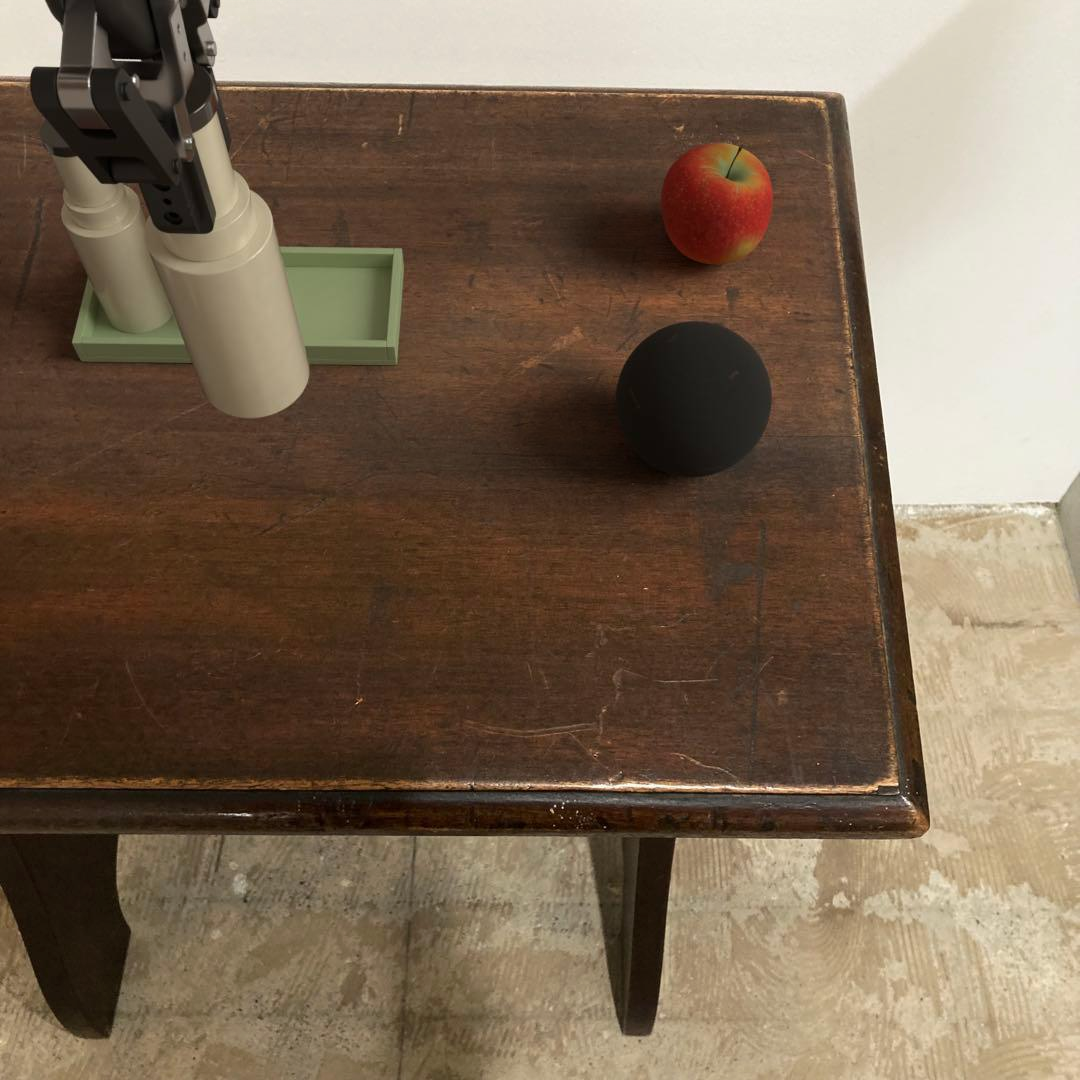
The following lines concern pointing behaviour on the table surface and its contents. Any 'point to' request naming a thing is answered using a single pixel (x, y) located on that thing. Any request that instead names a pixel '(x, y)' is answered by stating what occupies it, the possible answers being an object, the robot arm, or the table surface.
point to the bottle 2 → (231, 282)
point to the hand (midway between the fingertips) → (195, 188)
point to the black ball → (693, 399)
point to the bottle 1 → (109, 241)
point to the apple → (716, 203)
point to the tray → (320, 302)
